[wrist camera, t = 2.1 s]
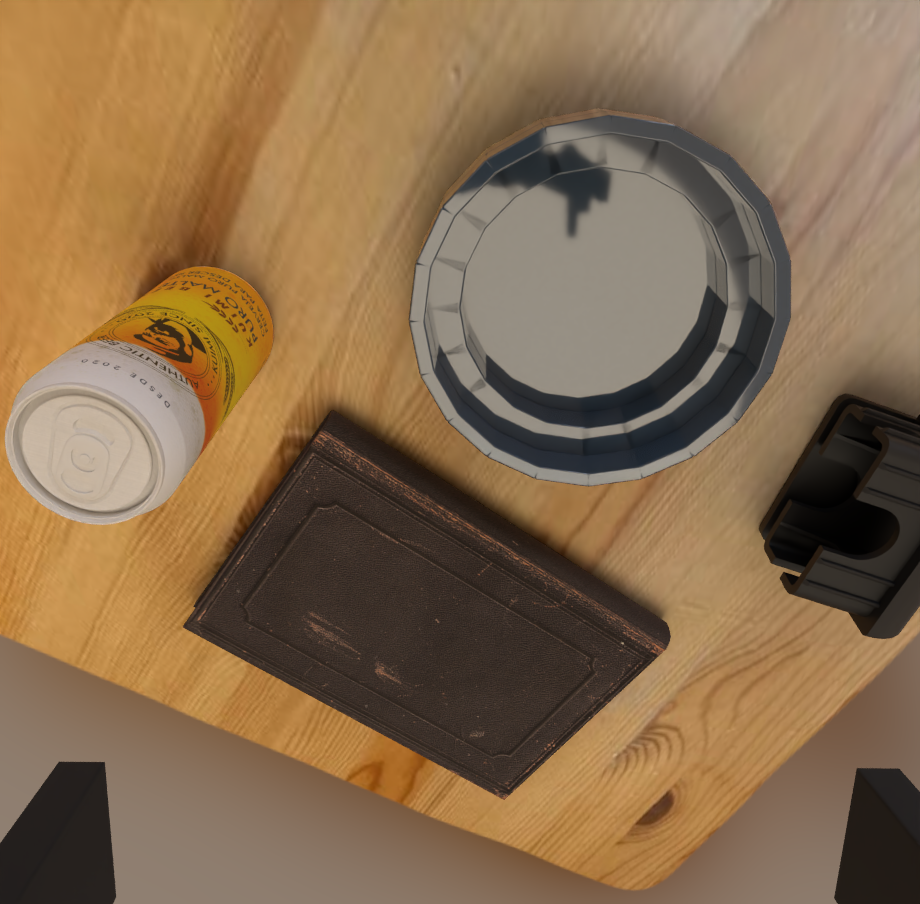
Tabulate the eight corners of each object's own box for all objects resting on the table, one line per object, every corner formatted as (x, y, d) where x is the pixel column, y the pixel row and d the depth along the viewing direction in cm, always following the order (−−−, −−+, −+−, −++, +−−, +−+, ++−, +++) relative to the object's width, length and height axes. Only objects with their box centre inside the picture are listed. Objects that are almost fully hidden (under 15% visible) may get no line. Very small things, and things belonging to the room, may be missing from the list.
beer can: (294, 295, 40) (196, 421, 27) (254, 397, 43) (146, 559, 29) (176, 240, 39) (13, 342, 26) (142, 349, 42) (-23, 493, 28)
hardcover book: (503, 772, 54) (504, 800, 52) (195, 603, 49) (182, 627, 47) (666, 616, 48) (674, 642, 46) (334, 404, 43) (327, 422, 41)
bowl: (349, 294, 40) (334, 321, 36) (601, 22, 34) (616, 19, 30) (575, 499, 45) (584, 544, 41) (829, 290, 39) (868, 318, 35)
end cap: (863, 575, 46) (919, 655, 40) (750, 539, 46) (790, 615, 39) (967, 424, 42) (1048, 488, 36) (845, 381, 41) (906, 439, 35)
